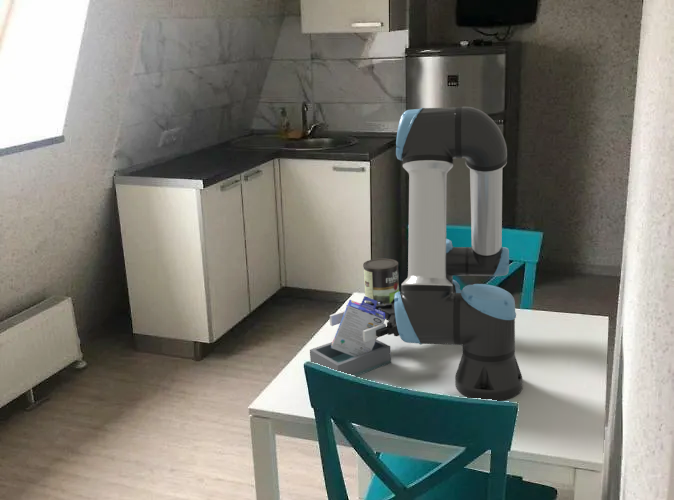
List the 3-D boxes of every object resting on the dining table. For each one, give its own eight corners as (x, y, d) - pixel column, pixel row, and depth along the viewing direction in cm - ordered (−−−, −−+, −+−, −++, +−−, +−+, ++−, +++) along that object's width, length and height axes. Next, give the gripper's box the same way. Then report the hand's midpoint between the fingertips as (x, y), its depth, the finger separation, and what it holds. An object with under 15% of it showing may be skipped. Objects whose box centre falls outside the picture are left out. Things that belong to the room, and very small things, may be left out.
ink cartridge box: (368, 354, 188) (389, 304, 184) (367, 363, 182) (389, 311, 178) (332, 340, 187) (352, 289, 183) (330, 348, 182) (351, 297, 178)
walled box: (390, 362, 184) (390, 346, 183) (338, 382, 175) (337, 365, 174) (361, 347, 194) (360, 332, 192) (310, 366, 185) (309, 349, 184)
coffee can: (406, 305, 221) (405, 260, 216) (387, 317, 213) (385, 271, 209) (378, 299, 227) (376, 256, 223) (358, 310, 219) (356, 265, 215)
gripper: (445, 332, 185) (379, 358, 173) (382, 306, 204) (319, 328, 192) (444, 304, 182) (378, 328, 171) (380, 281, 202) (317, 301, 190)
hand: (346, 328), depth 182 cm, fingers open, 13 cm apart
